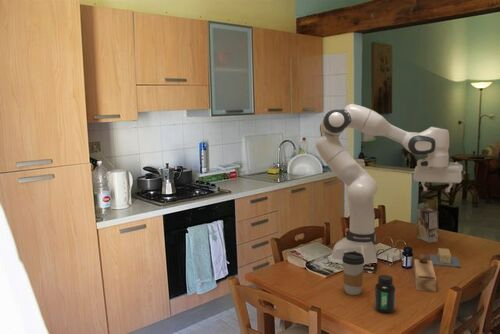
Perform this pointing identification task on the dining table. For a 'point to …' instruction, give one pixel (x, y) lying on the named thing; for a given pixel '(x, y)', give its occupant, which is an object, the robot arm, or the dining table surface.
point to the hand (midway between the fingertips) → (436, 191)
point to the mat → (436, 262)
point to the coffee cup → (353, 272)
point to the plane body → (424, 274)
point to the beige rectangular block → (444, 256)
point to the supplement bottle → (385, 294)
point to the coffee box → (428, 225)
